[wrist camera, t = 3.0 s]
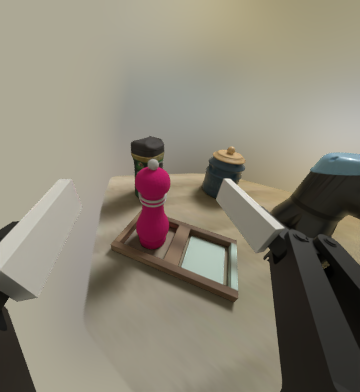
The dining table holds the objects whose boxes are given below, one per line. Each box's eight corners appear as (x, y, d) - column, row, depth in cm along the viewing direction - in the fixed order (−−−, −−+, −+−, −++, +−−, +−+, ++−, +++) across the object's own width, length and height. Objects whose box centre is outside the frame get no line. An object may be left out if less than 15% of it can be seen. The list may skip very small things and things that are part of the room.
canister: (207, 179, 61) (218, 139, 51) (235, 189, 57) (253, 147, 47) (197, 191, 51) (208, 145, 41) (229, 204, 47) (251, 157, 37)
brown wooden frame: (143, 213, 38) (142, 208, 37) (233, 245, 33) (236, 240, 32) (112, 249, 28) (110, 244, 27) (233, 302, 23) (238, 298, 22)
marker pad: (191, 236, 34) (191, 235, 34) (224, 248, 32) (224, 247, 32) (180, 268, 27) (180, 267, 27) (222, 285, 25) (222, 285, 25)
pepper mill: (131, 235, 32) (120, 154, 20) (156, 222, 36) (158, 149, 24) (147, 258, 28) (144, 174, 16) (173, 240, 32) (185, 163, 21)
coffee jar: (147, 184, 51) (146, 132, 40) (165, 190, 49) (169, 138, 38) (130, 196, 44) (123, 137, 33) (151, 204, 42) (150, 145, 31)
